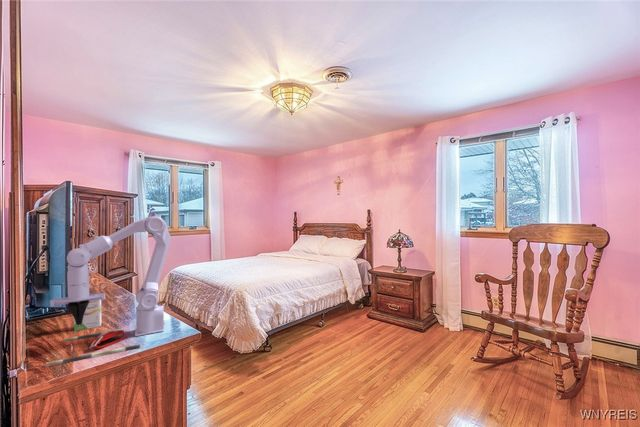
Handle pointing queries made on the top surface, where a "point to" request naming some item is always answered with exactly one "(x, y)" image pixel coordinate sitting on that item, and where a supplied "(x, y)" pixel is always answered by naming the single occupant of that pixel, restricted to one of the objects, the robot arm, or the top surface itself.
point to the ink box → (91, 316)
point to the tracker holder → (105, 337)
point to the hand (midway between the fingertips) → (79, 323)
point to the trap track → (90, 354)
